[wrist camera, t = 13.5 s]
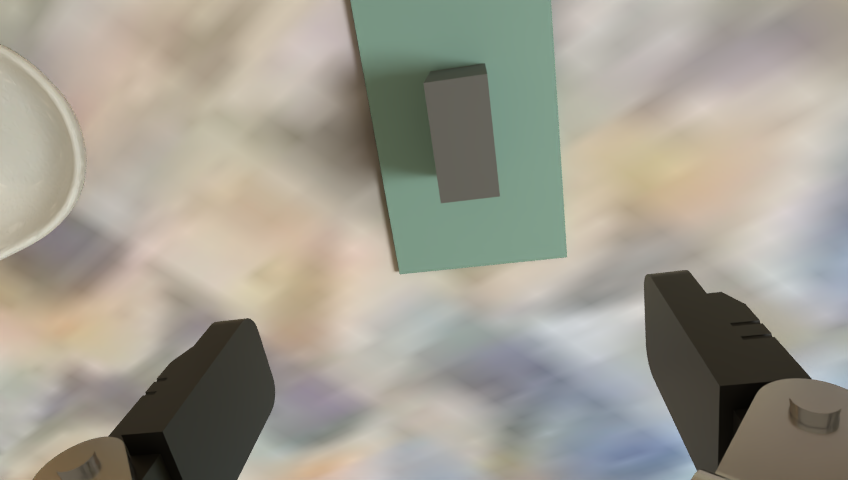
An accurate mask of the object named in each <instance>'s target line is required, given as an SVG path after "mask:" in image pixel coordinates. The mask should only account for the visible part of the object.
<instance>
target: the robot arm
mask: <svg viewBox="0 0 848 480" xmlns="http://www.w3.org/2000/svg"><path fill="white" fill-rule="evenodd" d="M644 300H645V330H646V350H647V357H648V362H649V366H650V370H651V373H652V376H653V378H654V380H655V382H656V385H657V387H658V389H659V391H660V393H661V395H662V397H663V399H664V402H665V404H666V406H667V408H668V410H669V412H670V414H671V416H672V419H673V421H674V423H675V425H676V427H677V429H678V431H679V433H680V436H681V438H682V440H683V442H684V444H685V446H686V448H687V450H688V453H689V455H690V457H691V459H692V461H693V463H694V465H695V467H696V470H697V472H696V473H695V474H694V476H693V477H692V479H691V480H848V390H847V389H845V388H842V387H840V386H837V385H834V384H831V383H827V382H823V381H818V380H812V379H811V378H810V376H809V375H808V374H807V373H806V372H805V371H804V370H803V369H802V367H801V366H800V365H799V364H798V363H797V362H796V361H795V360H794V358H793V357H792V356H791V355H790V354H789V353H788V352H787V351H786V349H785V348H784V347H783V346H782V345H781V344H780V343H779V342H778V340H777V339H776V338H775V337H772V335H771V333H770V331H769V330H768V329H767V328H766V327H765V326H764V325H763V324H760V320H759V319H758V318H757V317H756V316H755V315H754V313H753V312H752V311H751V310H750V309H749V308H748V307H747V306H746V304H744V303H742V302H740V301H738V300H736V299H734V298H732V297H730V296H728V295H726V294H724V293H722V292H717V293H708V294H707V293H706V292H705V291H704V290H703V288H702V287H701V286H700V284H699V283H698V282H697V281H696V279H695V278H694V277H693V276H692V274H691V273H690V272H689V271H688V270H682V271H674V272H665V273H656V274H647V275H646V276H645V280H644ZM274 400H275V385H274V380H273V376H272V373H271V370H270V367H269V364H268V360H267V357H266V354H265V351H264V348H263V345H262V341H261V338H260V335H259V332H258V329H257V326H256V324H255V323H254V321H252V320H251V319H249V318H247V319H238V320H229V321H220V322H214V323H213V324H212V325H211V326H210V327H209V328H208V329H207V330H206V332H205V333H204V334H203V335H202V337H201V338H200V339H199V340H198V342H197V343H196V344H195V345H194V346H193V347H192V348H190V349H189V350H187V351H186V352H185V353H183V354H182V355H180V356H179V357H178V358H176V359H175V360H173V361H172V362H171V363H170V364H169V365H168V366H167V367H166V369H165V370H164V371H163V372H162V373H161V375H160V376H159V377H158V378H157V382H154V383H153V384H152V385H151V386H150V388H149V389H148V390H147V391H146V395H145V396H142V397H141V398H140V399H139V401H138V402H137V403H136V404H135V405H134V407H133V408H132V409H131V410H130V411H129V412H128V414H127V415H126V416H125V417H124V418H123V420H122V421H121V422H120V423H119V424H118V425H117V427H116V428H115V429H114V430H113V431H112V433H111V434H110V435H109V436H108V437H99V438H95V439H91V440H88V441H85V442H82V443H80V444H77V445H75V446H73V447H71V448H69V449H67V450H65V451H64V452H62V453H60V454H59V455H57V456H56V457H54V458H53V459H52V460H51V461H49V462H48V463H47V464H46V465H45V466H44V467H43V468H41V470H40V471H39V472H38V473H37V474H36V476H35V477H34V479H33V480H237V479H238V477H239V475H240V473H241V471H242V469H243V467H244V465H245V463H246V461H247V459H248V457H249V455H250V453H251V451H252V449H253V447H254V445H255V443H256V441H257V439H258V437H259V435H260V433H261V431H262V429H263V427H264V425H265V423H266V421H267V419H268V417H269V415H270V413H271V411H272V408H273V405H274Z"/></svg>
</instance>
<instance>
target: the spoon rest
mask: <svg viewBox="0 0 848 480" xmlns="http://www.w3.org/2000/svg"><path fill="white" fill-rule="evenodd" d="M85 174H86V148H85V144H84V139H83V135H82V132H81V129H80V126H79V123H78V121H77V118H76V116H75V114H74V112H73V110H72V108H71V107H70V105H69V103H68V102H67V100H66V99H65V97H64V96H63V95H62V93H61V92H60V91H59V90H58V89H57V88H56V87H55V86H54V85H53V84H52V82H51V81H50V80H49V79H48V78H47V77H46V76H45V75H44V74H43V73H42V72H41V71H39V70H38V69H37V68H36V67H35V66H34V65H33V64H31V63H30V62H29V61H28V60H26V59H25V58H23V57H22V56H20V55H19V54H17V53H16V52H14V51H12V50H11V49H9V48H7V47H5V46H3V45H1V44H0V260H1V259H4V258H6V257H8V256H10V255H13V254H15V253H17V252H18V251H20V250H22V249H24V248H26V247H28V246H30V245H32V244H34V243H35V242H37V241H38V240H40V239H42V238H43V237H45V236H46V235H47V234H49V233H50V232H51V231H53V230H54V229H55V228H56V227H57V226H58V225H59V224H60V223H61V222H62V221H63V220H64V219H65V218H66V217H67V216H68V214H69V213H70V212H71V210H72V209H73V207H74V206H75V204H76V202H77V200H78V198H79V196H80V194H81V191H82V188H83V185H84V180H85Z"/></svg>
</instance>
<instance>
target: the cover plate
mask: <svg viewBox="0 0 848 480" xmlns="http://www.w3.org/2000/svg"><path fill="white" fill-rule="evenodd" d="M350 1H351V7H352V12H353V18H354V24H355V29H356V35H357V40H358V46H359V51H360V57H361V62H362V68H363V73H364V79H365V84H366V90H367V95H368V101H369V107H370V112H371V118H372V123H373V129H374V134H375V140H376V145H377V151H378V156H379V162H380V167H381V173H382V178H383V184H384V190H385V195H386V201H387V206H388V212H389V217H390V223H391V228H392V234H393V239H394V245H395V250H396V256H397V261H398V267H399V273H400V274H407V273H417V272H427V271H437V270H446V269H456V268H466V267H476V266H486V265H495V264H505V263H515V262H525V261H535V260H544V259H554V258H564V257H567V249H566V233H565V217H564V202H563V186H562V170H561V154H560V138H559V122H558V106H557V90H556V74H555V58H554V42H553V26H552V10H551V0H350Z"/></svg>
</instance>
